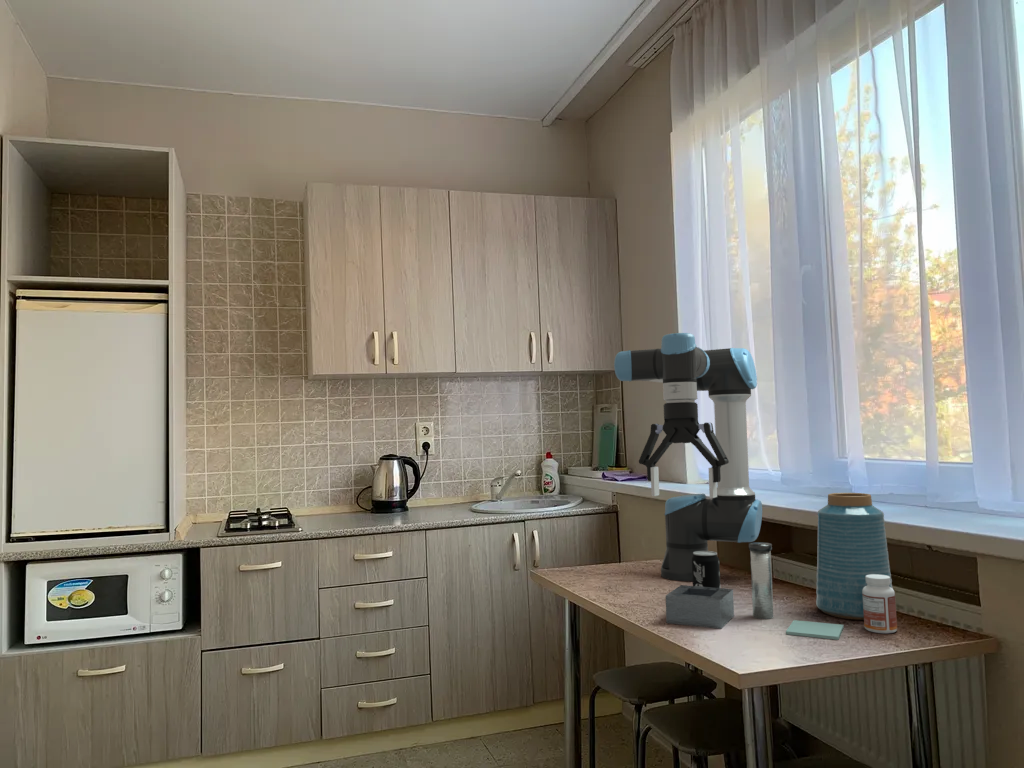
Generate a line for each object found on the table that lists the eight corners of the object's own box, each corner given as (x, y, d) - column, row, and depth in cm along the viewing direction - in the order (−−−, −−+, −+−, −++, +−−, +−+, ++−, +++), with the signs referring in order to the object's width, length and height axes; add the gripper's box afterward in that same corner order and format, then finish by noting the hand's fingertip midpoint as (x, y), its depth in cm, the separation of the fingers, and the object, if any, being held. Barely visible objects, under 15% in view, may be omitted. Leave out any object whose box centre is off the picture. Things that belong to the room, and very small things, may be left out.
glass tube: (754, 613, 175) (751, 541, 175) (776, 615, 172) (773, 543, 173) (749, 618, 170) (746, 545, 171) (772, 620, 168) (769, 546, 169)
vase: (899, 608, 175) (893, 492, 177) (889, 625, 162) (882, 498, 163) (825, 601, 184) (819, 490, 186) (809, 615, 171) (803, 496, 172)
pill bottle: (887, 625, 161) (884, 572, 162) (903, 633, 155) (900, 578, 156) (858, 626, 161) (855, 573, 161) (874, 634, 155) (871, 579, 155)
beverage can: (721, 605, 182) (719, 555, 183) (693, 605, 184) (691, 554, 184) (720, 599, 189) (718, 550, 190) (692, 598, 190) (691, 550, 191)
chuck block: (682, 610, 178) (681, 585, 178) (734, 615, 172) (733, 589, 173) (666, 623, 168) (665, 595, 168) (721, 628, 162) (720, 600, 162)
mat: (793, 622, 165) (793, 620, 165) (843, 627, 160) (843, 624, 160) (785, 634, 156) (785, 631, 156) (838, 639, 152) (838, 636, 152)
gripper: (622, 403, 175) (625, 496, 174) (729, 399, 161) (733, 499, 160) (636, 404, 181) (639, 493, 180) (740, 399, 167) (744, 496, 166)
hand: (683, 496), depth 170 cm, fingers open, 13 cm apart
